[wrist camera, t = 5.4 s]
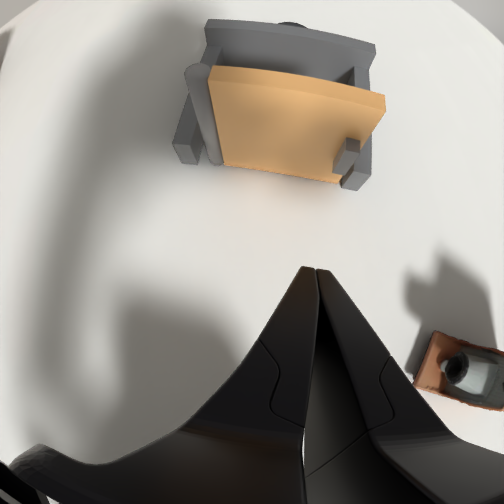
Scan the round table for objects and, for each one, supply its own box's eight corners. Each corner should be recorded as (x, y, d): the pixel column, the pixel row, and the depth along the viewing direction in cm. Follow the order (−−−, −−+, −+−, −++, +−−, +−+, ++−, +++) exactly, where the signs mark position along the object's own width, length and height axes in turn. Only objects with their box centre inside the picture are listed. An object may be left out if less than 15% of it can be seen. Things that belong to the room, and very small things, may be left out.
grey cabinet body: (356, 191, 21) (382, 162, 16) (181, 163, 21) (164, 127, 16) (357, 72, 23) (373, 35, 18) (217, 51, 23) (212, 11, 18)
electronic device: (426, 328, 19) (493, 335, 12) (498, 357, 19) (558, 366, 11) (404, 384, 19) (464, 413, 11) (481, 404, 18) (537, 425, 11)
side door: (336, 194, 21) (386, 125, 11) (205, 173, 21) (176, 92, 12) (338, 170, 21) (384, 93, 12) (211, 149, 21) (188, 63, 12)
